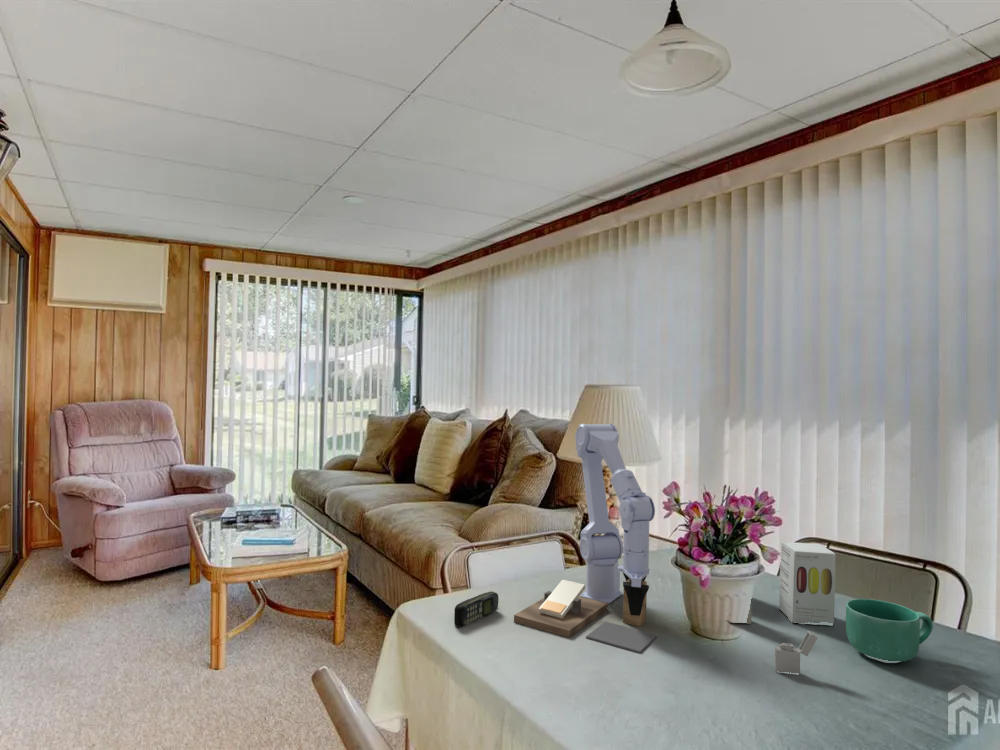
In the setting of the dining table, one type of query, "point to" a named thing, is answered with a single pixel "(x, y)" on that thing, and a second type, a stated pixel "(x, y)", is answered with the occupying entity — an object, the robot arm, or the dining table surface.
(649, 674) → the dining table surface
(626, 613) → the wood grain block
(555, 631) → the switch panel
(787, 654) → the lighter
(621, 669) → the dining table surface
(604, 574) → the robot arm
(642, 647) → the rest mat
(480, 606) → the mobile phone
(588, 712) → the dining table surface
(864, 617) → the mug
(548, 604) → the white two-tone slab
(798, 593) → the supplement box
